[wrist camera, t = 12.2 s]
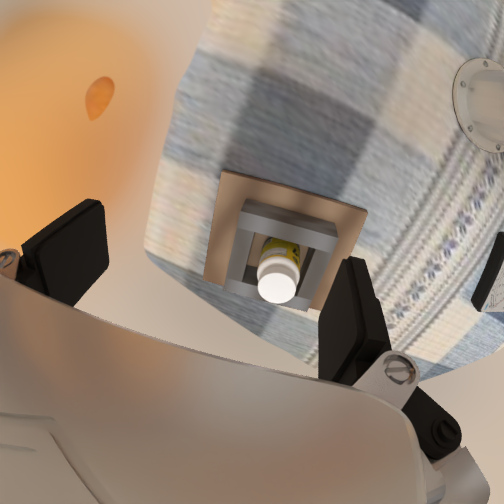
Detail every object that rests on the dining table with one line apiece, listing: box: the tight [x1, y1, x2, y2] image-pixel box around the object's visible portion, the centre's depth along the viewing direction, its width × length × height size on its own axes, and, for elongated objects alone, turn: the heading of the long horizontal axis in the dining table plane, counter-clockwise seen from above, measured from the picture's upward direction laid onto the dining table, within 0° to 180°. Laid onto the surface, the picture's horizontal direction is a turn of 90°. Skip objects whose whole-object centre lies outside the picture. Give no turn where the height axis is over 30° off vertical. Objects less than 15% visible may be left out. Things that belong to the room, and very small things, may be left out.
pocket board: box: [203, 170, 368, 312], centre depth 36 cm, size 18×16×5 cm
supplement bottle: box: [257, 236, 300, 303], centre depth 33 cm, size 5×5×8 cm
